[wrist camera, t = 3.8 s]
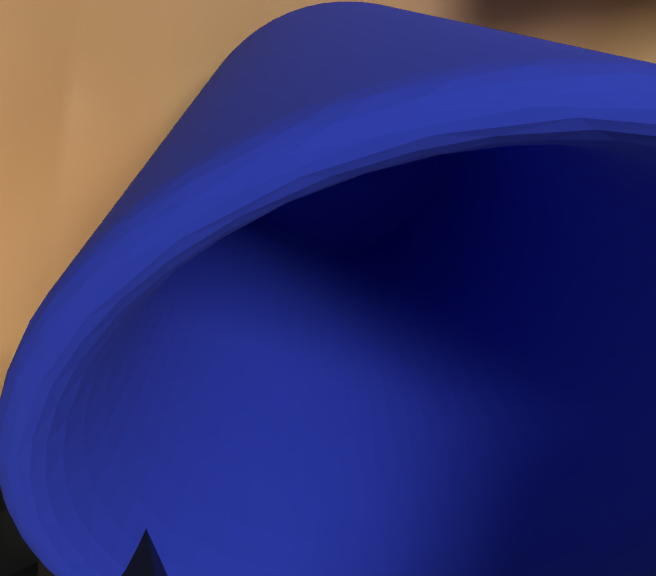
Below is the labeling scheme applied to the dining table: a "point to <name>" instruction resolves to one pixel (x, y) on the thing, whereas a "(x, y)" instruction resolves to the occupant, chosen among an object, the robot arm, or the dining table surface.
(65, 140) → the dining table surface
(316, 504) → the mug
